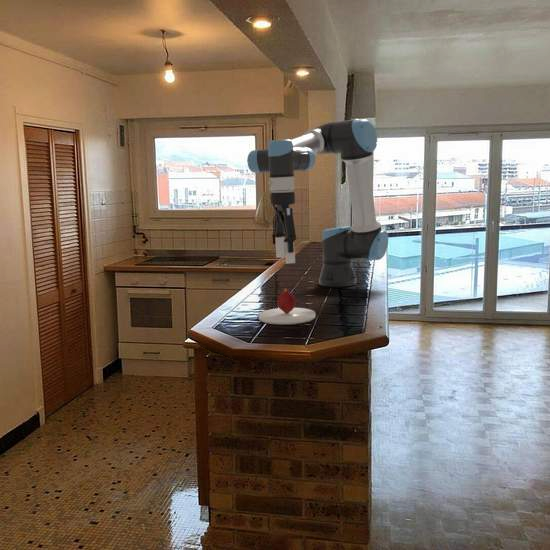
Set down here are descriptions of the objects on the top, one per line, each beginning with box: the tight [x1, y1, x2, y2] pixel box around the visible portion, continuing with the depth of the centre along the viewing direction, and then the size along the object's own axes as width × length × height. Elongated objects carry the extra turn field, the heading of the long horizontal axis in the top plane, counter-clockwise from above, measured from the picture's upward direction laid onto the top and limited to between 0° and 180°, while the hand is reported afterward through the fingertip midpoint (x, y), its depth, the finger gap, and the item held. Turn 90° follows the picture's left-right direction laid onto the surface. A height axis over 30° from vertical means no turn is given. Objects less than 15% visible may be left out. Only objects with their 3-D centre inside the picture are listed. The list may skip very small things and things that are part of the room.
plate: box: [258, 307, 317, 325], centre depth 188 cm, size 18×18×1 cm
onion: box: [276, 288, 297, 314], centre depth 187 cm, size 6×6×8 cm
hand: (285, 260), depth 185 cm, fingers open, 13 cm apart
